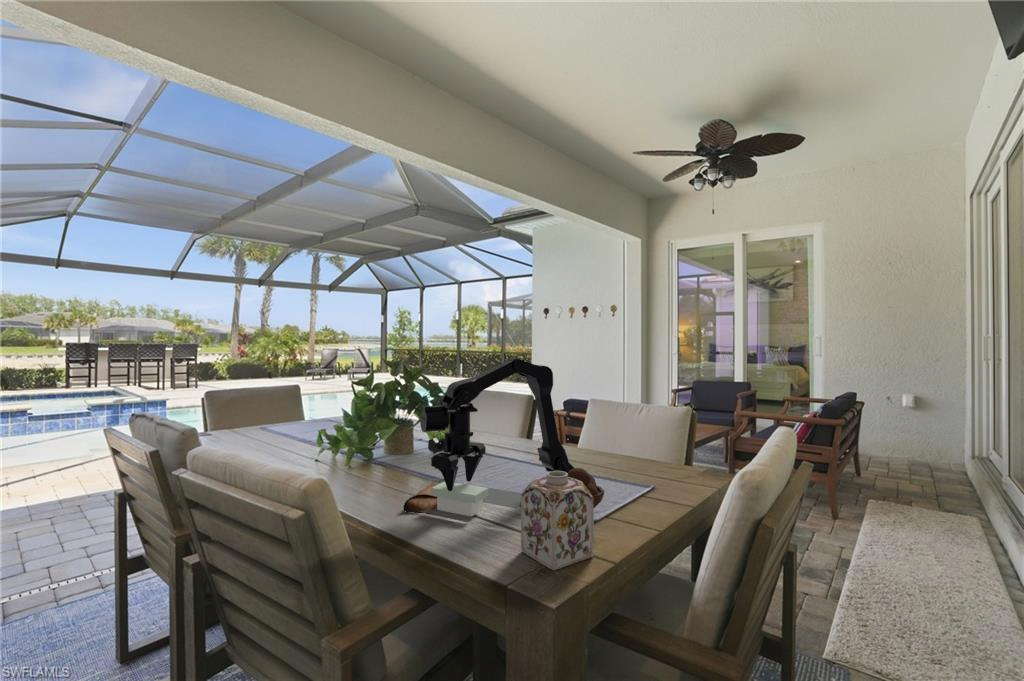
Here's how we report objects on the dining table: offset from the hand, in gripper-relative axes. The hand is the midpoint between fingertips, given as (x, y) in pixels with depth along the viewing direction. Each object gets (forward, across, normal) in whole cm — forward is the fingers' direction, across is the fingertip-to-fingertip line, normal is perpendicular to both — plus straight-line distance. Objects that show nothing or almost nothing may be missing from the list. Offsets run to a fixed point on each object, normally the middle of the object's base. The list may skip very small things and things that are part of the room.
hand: (459, 486), depth 133 cm
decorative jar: (+7, +12, +33) cm, 36 cm away
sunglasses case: (+8, -2, -11) cm, 14 cm away
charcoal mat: (+7, -14, +4) cm, 16 cm away
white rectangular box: (+7, 0, 0) cm, 7 cm away
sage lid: (+2, 0, 0) cm, 3 cm away
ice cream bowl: (+7, -5, +33) cm, 34 cm away
